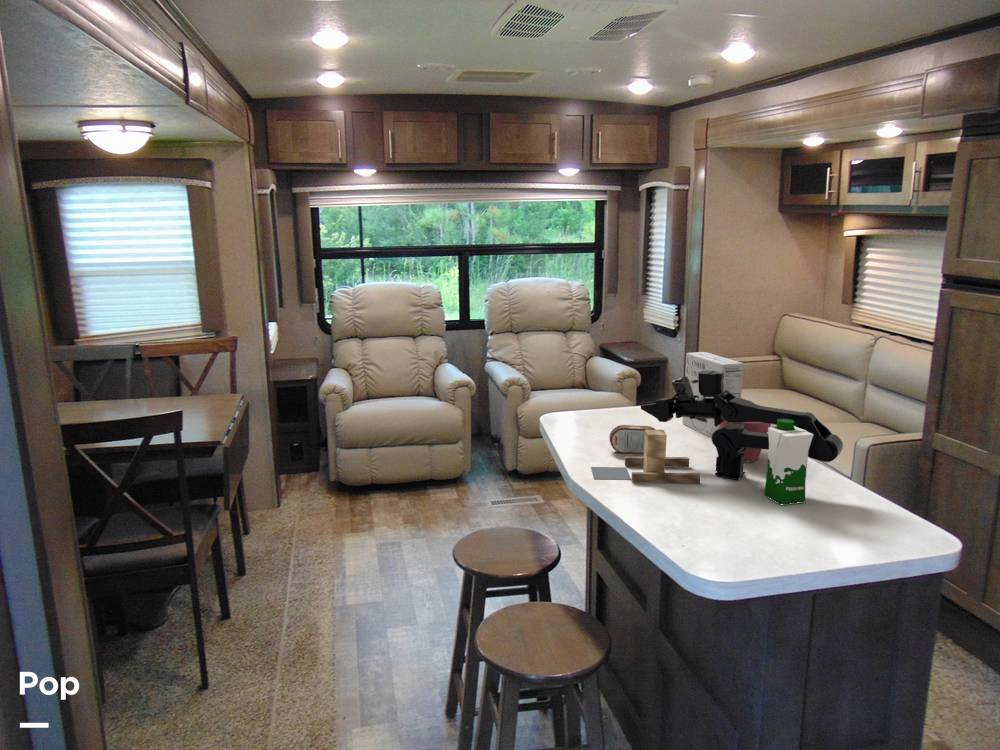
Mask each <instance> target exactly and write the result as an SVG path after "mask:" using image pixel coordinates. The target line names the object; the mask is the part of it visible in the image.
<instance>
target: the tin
mask: <svg viewBox="0 0 1000 750" xmlns="http://www.w3.org/2000/svg"><path fill="white" fill-rule="evenodd" d="M645 430H657V429H656V428H654V427H652V426H650V425H649V426H648V425H634V424H633V425H632V424H620V425H617V426H615V427H614V428H613V429H612V430H611V431H610V433H609V443H610V445H611V447H612V449H613V450H614V451H616V452H617V453H619V454H633V455H634V454H635V455H636V454H637V455H644V442H645Z"/></svg>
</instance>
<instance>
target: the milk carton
mask: <svg viewBox="0 0 1000 750" xmlns="http://www.w3.org/2000/svg"><path fill="white" fill-rule="evenodd" d="M767 433H768V436H769V450H768V456H767V468H766V478H765V487H764V494H763V496H764V495H765V496H764V497H766V496H767V497H766V498H768V497H769V498H768V499H770V498H771V499H772V500H771V499H770V500H771V501H773V500H774V501H773V502H775V501H776V502H778V503H779V505H780V504H789V505H791V504H790V503H797V502H804V501H805V502H806V480H807V479H806V478H807V468H808V459H809V457H808V450H809V447H810V444H811V441H812V438H813V435H814V434H812V433H809V432H807V431H806V430H803V429H801V428H798V427H795V426H794V421H793V420H791V419H784V418H782V419H778V420H777V425H776V426H772V427H771V428H768V432H767ZM776 502H775V503H776ZM778 503H777V504H778Z"/></svg>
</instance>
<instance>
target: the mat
mask: <svg viewBox="0 0 1000 750" xmlns="http://www.w3.org/2000/svg"><path fill="white" fill-rule="evenodd" d="M591 469H592V470H591ZM590 470H591V472H592V476H593V479H594V480H609V481H610V480H611V481H612V480H613V481H615V480H616V481H617V480H623V481H625V480H626V481H630V480H631V479H632V477H631V476H630V473H629V470H628V467H627V466H625V467H624V466H623V467H622V466H619V467H617V466H615V467H614V466H590Z"/></svg>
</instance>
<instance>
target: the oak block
mask: <svg viewBox="0 0 1000 750" xmlns="http://www.w3.org/2000/svg"><path fill="white" fill-rule="evenodd" d="M667 438H668V437H667V433H666V432H665V429H656V430H645V442H644V454H643V457H644V462H643V467H642V468H643V469H642V472H659V473H666V472H665V471H666V467H665V457H667V456H666V455H667V454H666V452H667V451H666V450H667Z"/></svg>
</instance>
